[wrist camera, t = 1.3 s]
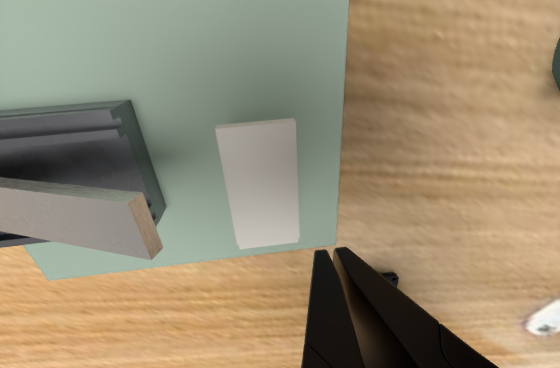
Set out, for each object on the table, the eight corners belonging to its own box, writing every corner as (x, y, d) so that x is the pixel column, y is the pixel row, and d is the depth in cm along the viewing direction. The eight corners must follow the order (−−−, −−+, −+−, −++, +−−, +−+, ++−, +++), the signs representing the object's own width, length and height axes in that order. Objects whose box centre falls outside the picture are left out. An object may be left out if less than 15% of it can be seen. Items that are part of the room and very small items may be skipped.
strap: (170, 251, 12) (150, 273, 11) (-25, 216, 16) (-55, 230, 15) (143, 178, 10) (116, 196, 9) (-70, 159, 14) (-109, 170, 13)
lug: (290, 210, 21) (300, 249, 17) (241, 216, 21) (239, 257, 17) (284, 103, 17) (295, 121, 13) (223, 108, 16) (215, 129, 12)
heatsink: (166, 207, 20) (150, 240, 16) (10, 224, 19) (-40, 262, 16) (130, 99, 16) (99, 114, 12) (-67, 115, 15) (-157, 136, 12)
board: (332, 237, 24) (335, 244, 23) (56, 271, 23) (48, 280, 22) (345, -33, 15) (351, -38, 14) (-135, -7, 13) (-163, -11, 12)
